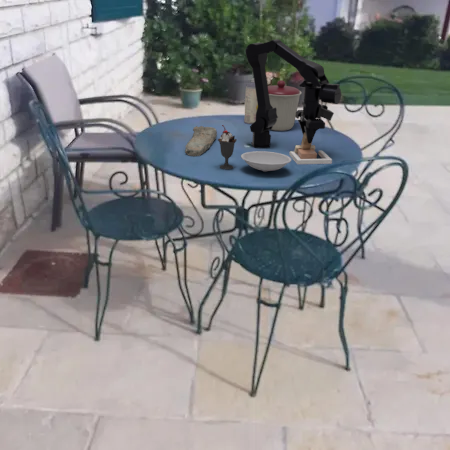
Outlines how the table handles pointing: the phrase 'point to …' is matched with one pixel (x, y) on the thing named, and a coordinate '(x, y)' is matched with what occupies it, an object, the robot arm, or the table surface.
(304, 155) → the tile
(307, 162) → the corral
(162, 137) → the table surface
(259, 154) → the dish
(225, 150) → the sundae
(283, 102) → the canister
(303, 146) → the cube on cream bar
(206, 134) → the elongated rock
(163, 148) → the table surface
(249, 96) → the aerosol can
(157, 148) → the table surface
